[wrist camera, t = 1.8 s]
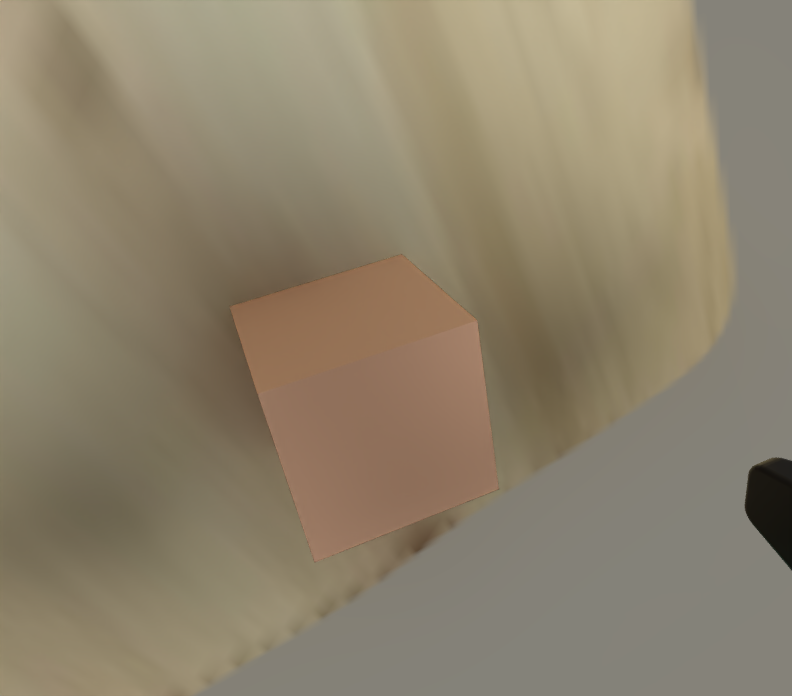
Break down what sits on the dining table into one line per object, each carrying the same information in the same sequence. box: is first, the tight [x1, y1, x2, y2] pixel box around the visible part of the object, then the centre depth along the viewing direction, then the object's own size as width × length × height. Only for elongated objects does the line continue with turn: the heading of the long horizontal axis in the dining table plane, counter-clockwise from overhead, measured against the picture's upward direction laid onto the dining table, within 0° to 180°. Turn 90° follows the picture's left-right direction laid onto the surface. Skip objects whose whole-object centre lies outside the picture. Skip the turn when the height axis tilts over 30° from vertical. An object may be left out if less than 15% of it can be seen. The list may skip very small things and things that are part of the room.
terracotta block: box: [229, 254, 499, 562], centre depth 14 cm, size 4×4×4 cm
